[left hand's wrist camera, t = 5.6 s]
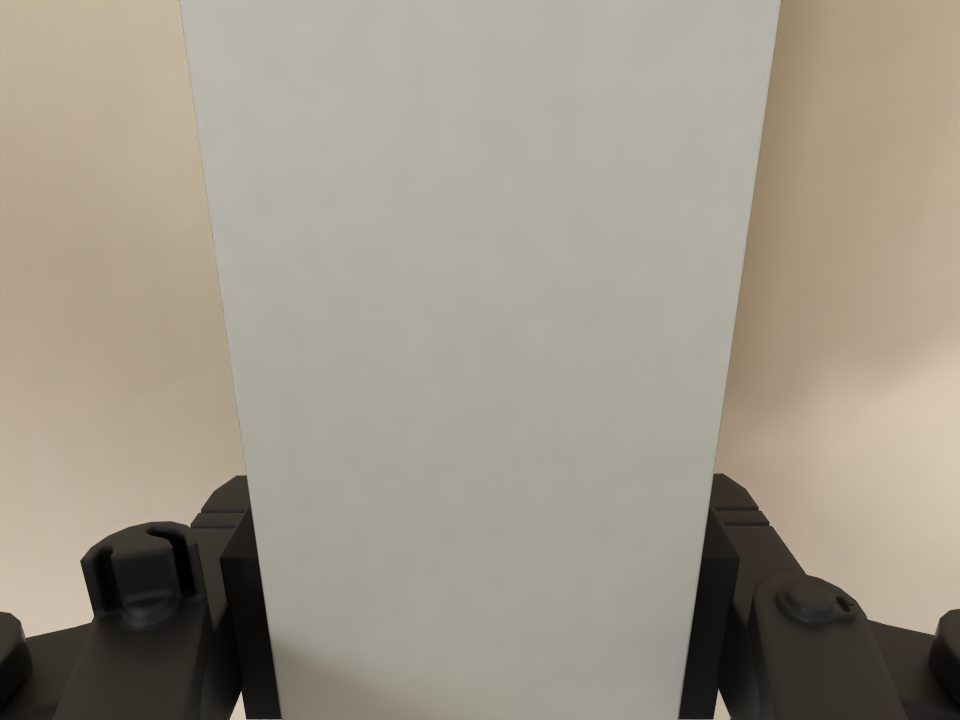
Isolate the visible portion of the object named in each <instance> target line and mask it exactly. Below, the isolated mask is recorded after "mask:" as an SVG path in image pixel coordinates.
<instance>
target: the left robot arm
mask: <svg viewBox="0 0 960 720" xmlns="http://www.w3.org/2000/svg"><path fill="white" fill-rule="evenodd" d="M80 562H81V566H82V570H83V574H84V578H85V582H86V585H87V589H88V593H89V597H90V601H91V605H92V609H93V612H94V618H93V620H92V622H91V623H88V624H84V625H81V626H77V627H74V628H69V629H65V630H60V631H56V632H51V633H47V634H42V635H38V636H33V637H28V638H25V635H24V631H23V628H22V625H21V622H20V621H19V620H18V619H17V618H16V617H14V616H13V615H12V614H11V613H5V612H0V720H230V717H231V715H232V712H233V710H234V707H235V705H236V702H237V700H238V698H239V695H240V693H241V690H242V696H243V702H244V708H245V714H246V719H282V718H281V711H280V704H279V697H278V690H277V683H276V676H275V669H274V662H273V655H272V648H271V641H270V634H269V627H268V620H267V613H266V606H265V599H264V592H263V585H262V578H261V571H260V564H259V557H258V550H257V543H256V536H255V529H254V522H253V515H252V508H251V501H250V494H249V487H248V480H247V476H235V477H234V478H233V479H231V480H230V481H228V482H227V483H225V484H224V485H222V486H221V487H219V488H218V489H217V490H215V491H214V492H213V493H212V495H211V496H210V498H209V499H208V501H207V502H206V503H205V505H204V506H203V508H202V509H201V513H198V515H197V516H196V518H195V519H194V520H193V522H192V523H191V527H190V528H189V527H188V526H187V525H184V524H180V523H176V522H171V521H167V522H149V523H145V524H140V525H136V526H132V527H128V528H126V529H123V530H121V531H119V532H116V533H114V534H112V535H109V536H107V537H106V538H104V539H103V540H101V541H100V542H99V543H97V544H96V545H94V546H93V547H91V548H90V549H89V551H88V552H87V553H86V554H85V556H84V557H83V558H82V559H81V561H80ZM718 688H719V691H720V693H721V696H722V698H723V700H724V703H725V705H726V708H727V710H728V712H729V715H730V717H731V719H730V720H960V609H956V610H950V611H948V612H947V613H946V614H945V615H944V616H942V617H941V618H940V620H939V623H938V626H937V630H936V633H935V635H930V634H926V633H921V632H917V631H912V630H908V629H903V628H899V627H894V626H889V625H885V624H881V623H878V622H875V621H871V620H868V619H867V617H866V615H865V613H864V612H863V610H862V609H861V607H860V606H859V604H858V603H857V602H856V600H854V599H853V598H852V597H851V596H849V595H848V594H847V593H845V592H844V591H843V590H842V589H840V588H839V587H837V586H835V585H833V584H831V583H828V582H826V581H824V580H822V579H820V578H817V577H813V576H809V575H806V573H805V572H804V570H803V569H802V568H801V566H800V565H799V563H798V562H797V561H796V559H795V558H794V556H793V555H792V554H791V552H790V551H789V549H788V548H787V547H786V545H785V544H784V542H783V541H782V540H781V538H780V537H779V535H778V534H777V532H776V531H775V530H774V528H773V527H772V526H769V521H768V520H767V518H766V517H765V516H764V514H763V513H762V511H759V507H758V506H757V504H756V503H755V501H754V500H753V499H752V497H751V496H750V494H749V493H748V492H747V490H746V489H745V488H743V487H742V486H740V485H739V484H738V483H736V482H735V481H733V480H732V479H730V478H729V477H727V476H726V475H724V474H713V481H712V488H711V495H710V502H709V509H708V516H707V523H706V530H705V537H704V544H703V551H702V558H701V565H700V571H699V578H698V585H697V592H696V599H695V606H694V613H693V620H692V627H691V634H690V641H689V648H688V655H687V662H686V669H685V676H684V683H683V690H682V697H681V704H680V711H679V718H678V719H713V717H714V711H715V706H716V700H717V694H718Z"/></svg>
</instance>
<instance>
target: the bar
mask: <svg viewBox="0 0 960 720" xmlns="http://www.w3.org/2000/svg"><path fill="white" fill-rule="evenodd" d="M179 4H180V11H181V18H182V25H183V32H184V39H185V46H186V53H187V60H188V67H189V74H190V81H191V88H192V95H193V102H194V109H195V116H196V123H197V130H198V137H199V144H200V151H201V158H202V165H203V172H204V179H205V186H206V193H207V200H208V207H209V214H210V221H211V228H212V235H213V242H214V249H215V256H216V263H217V270H218V277H219V284H220V291H221V298H222V305H223V312H224V319H225V326H226V333H227V340H228V347H229V354H230V361H231V368H232V375H233V382H234V389H235V396H236V403H237V410H238V417H239V424H240V431H241V438H242V445H243V452H244V459H245V466H246V473H247V480H248V487H249V494H250V501H251V508H252V515H253V522H254V529H255V536H256V543H257V550H258V557H259V564H260V571H261V578H262V585H263V592H264V599H265V606H266V613H267V620H268V627H269V634H270V641H271V648H272V655H273V662H274V669H275V676H276V683H277V690H278V697H279V704H280V711H281V718H282V720H678V718H679V711H680V704H681V697H682V690H683V683H684V676H685V669H686V662H687V655H688V648H689V641H690V634H691V627H692V620H693V613H694V606H695V599H696V592H697V585H698V578H699V571H700V565H701V558H702V551H703V544H704V537H705V530H706V523H707V516H708V509H709V502H710V495H711V488H712V481H713V474H714V467H715V460H716V453H717V446H718V439H719V432H720V425H721V418H722V411H723V404H724V397H725V390H726V383H727V376H728V369H729V362H730V355H731V348H732V341H733V334H734V327H735V320H736V313H737V306H738V299H739V292H740V285H741V278H742V271H743V264H744V257H745V250H746V243H747V236H748V229H749V222H750V215H751V208H752V201H753V194H754V188H755V181H756V174H757V167H758V160H759V153H760V146H761V139H762V132H763V125H764V118H765V111H766V104H767V97H768V90H769V83H770V76H771V69H772V62H773V55H774V48H775V41H776V34H777V27H778V20H779V13H780V6H781V0H179Z"/></svg>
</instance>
